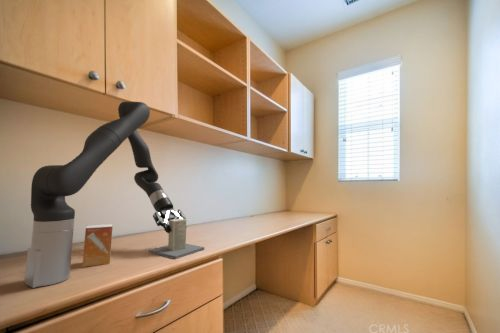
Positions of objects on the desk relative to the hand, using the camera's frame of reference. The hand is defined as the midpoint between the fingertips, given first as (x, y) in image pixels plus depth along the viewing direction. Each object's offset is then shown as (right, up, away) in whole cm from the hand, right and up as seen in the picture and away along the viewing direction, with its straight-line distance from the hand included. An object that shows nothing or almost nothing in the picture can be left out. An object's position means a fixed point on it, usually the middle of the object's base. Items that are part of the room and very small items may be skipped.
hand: (177, 230), depth 99 cm
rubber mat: (0, -9, -1) cm, 9 cm away
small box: (-23, -7, -17) cm, 30 cm away
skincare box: (0, -8, -1) cm, 8 cm away
